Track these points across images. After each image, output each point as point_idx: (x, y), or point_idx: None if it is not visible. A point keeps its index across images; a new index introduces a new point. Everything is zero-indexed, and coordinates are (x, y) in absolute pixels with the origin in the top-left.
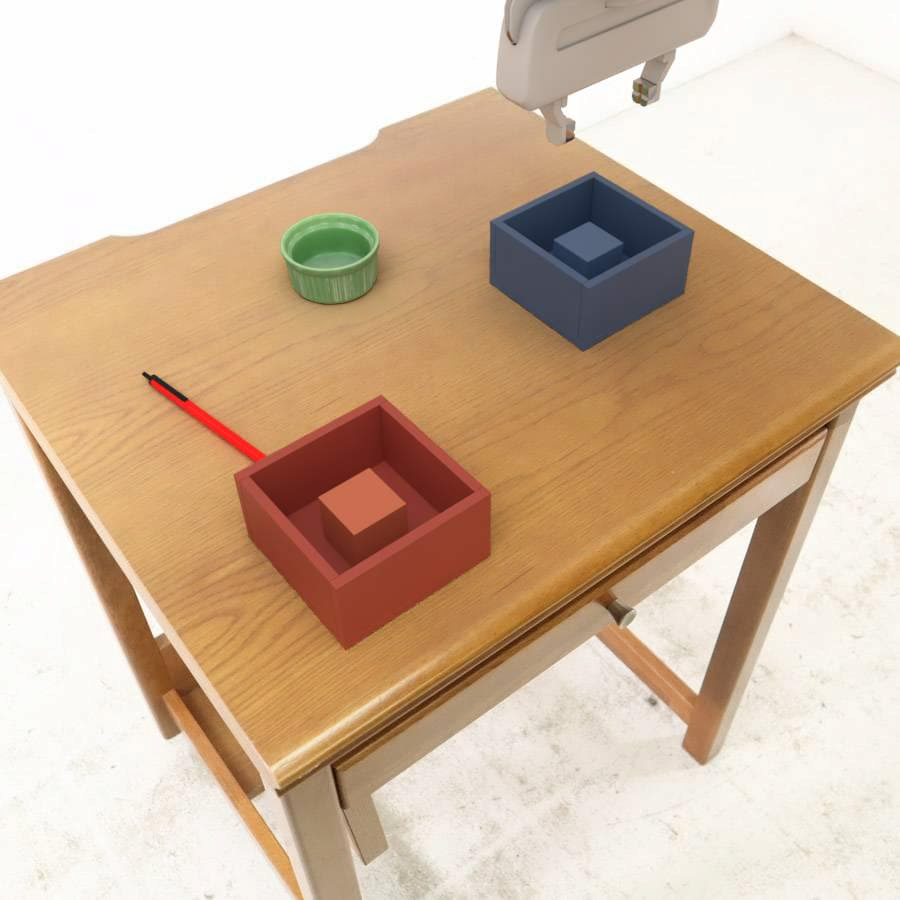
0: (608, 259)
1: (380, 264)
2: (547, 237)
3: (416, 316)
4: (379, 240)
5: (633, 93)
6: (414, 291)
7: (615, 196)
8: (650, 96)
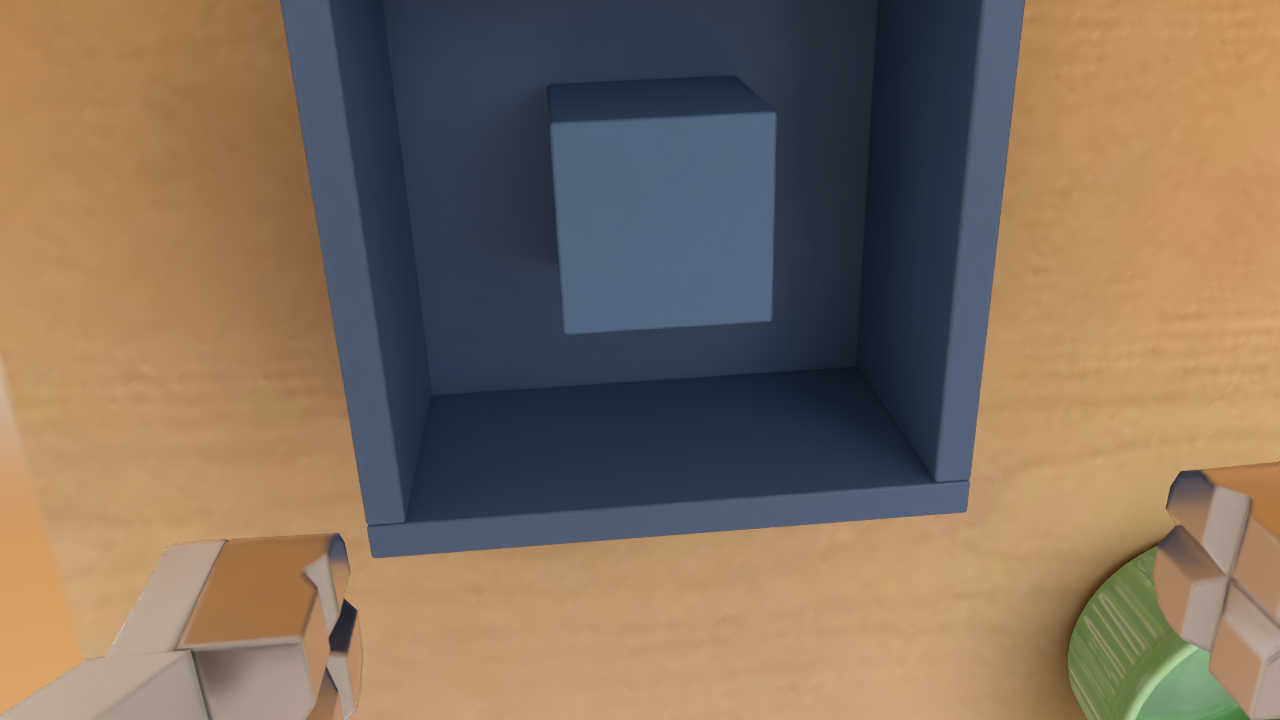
0: (639, 107)
1: (1045, 621)
2: (652, 411)
3: (1155, 373)
4: (1165, 660)
5: (349, 702)
6: (1069, 471)
7: (391, 380)
8: (283, 578)
